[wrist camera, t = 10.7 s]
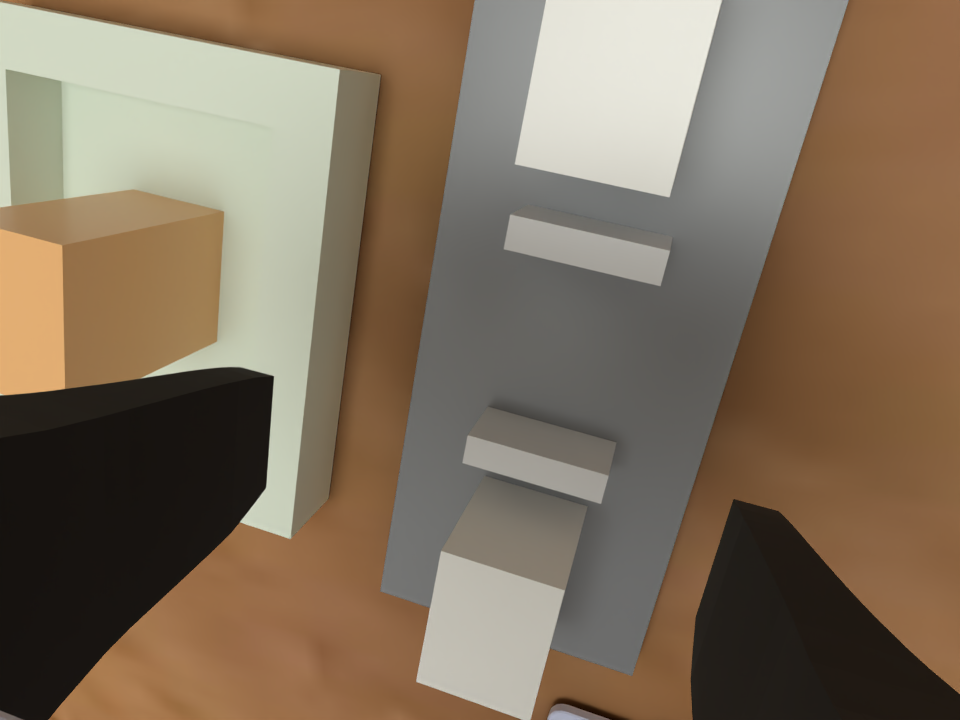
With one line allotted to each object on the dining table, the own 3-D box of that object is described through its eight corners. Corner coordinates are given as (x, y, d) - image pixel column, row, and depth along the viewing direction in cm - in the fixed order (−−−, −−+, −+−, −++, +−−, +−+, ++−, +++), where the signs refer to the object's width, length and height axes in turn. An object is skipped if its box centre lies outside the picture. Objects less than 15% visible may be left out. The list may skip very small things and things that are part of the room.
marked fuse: (216, 341, 23) (66, 414, 17) (131, 317, 23) (-42, 380, 18) (224, 211, 21) (62, 245, 16) (133, 189, 22) (-54, 214, 17)
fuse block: (634, 653, 23) (619, 787, 18) (391, 573, 25) (322, 679, 20) (852, -31, 16) (914, -88, 12) (500, -84, 18) (433, -153, 13)
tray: (328, 498, 24) (290, 538, 22) (41, 408, 26) (-21, 436, 24) (381, 74, 20) (340, 69, 17) (29, 4, 22) (-49, -8, 19)
